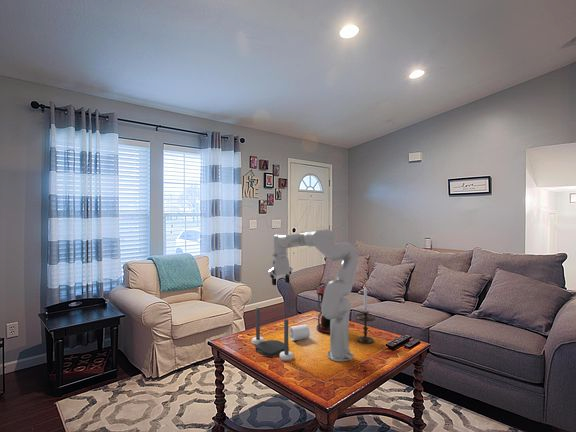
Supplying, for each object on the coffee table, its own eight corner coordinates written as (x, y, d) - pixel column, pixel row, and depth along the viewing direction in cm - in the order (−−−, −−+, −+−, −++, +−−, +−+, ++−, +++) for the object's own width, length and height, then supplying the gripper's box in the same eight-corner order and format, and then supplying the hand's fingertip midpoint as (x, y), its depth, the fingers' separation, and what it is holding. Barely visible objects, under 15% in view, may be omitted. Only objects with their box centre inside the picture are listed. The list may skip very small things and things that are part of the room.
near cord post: (295, 358, 177) (295, 320, 176) (285, 362, 172) (285, 323, 172) (287, 353, 182) (287, 316, 182) (277, 357, 178) (276, 319, 177)
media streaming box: (290, 350, 187) (290, 345, 187) (269, 358, 177) (269, 353, 177) (272, 342, 198) (272, 337, 198) (252, 350, 188) (252, 344, 187)
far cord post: (266, 342, 197) (266, 308, 196) (256, 345, 192) (256, 310, 192) (259, 339, 202) (259, 305, 202) (249, 342, 198) (249, 308, 197)
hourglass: (312, 326, 222) (312, 288, 221) (335, 324, 227) (335, 286, 226) (322, 335, 207) (322, 295, 206) (346, 332, 211) (346, 292, 210)
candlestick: (354, 343, 195) (354, 282, 194) (357, 336, 205) (357, 278, 204) (374, 345, 192) (374, 283, 190) (375, 338, 202) (375, 279, 201)
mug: (309, 340, 200) (309, 326, 200) (294, 343, 196) (294, 329, 196) (301, 333, 211) (301, 320, 211) (286, 335, 207) (286, 322, 207)
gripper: (272, 257, 195) (272, 287, 195) (295, 254, 205) (296, 282, 206) (264, 256, 201) (265, 284, 201) (287, 253, 211) (288, 280, 212)
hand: (280, 283), depth 203 cm, fingers open, 9 cm apart
